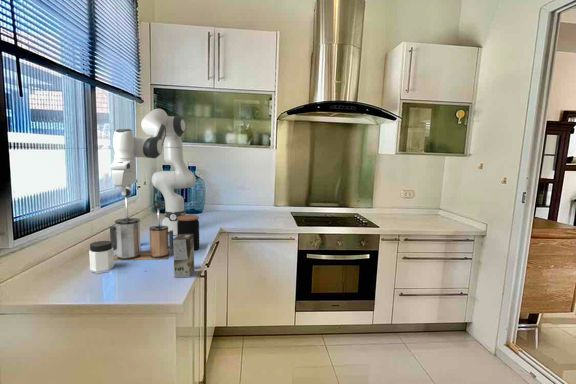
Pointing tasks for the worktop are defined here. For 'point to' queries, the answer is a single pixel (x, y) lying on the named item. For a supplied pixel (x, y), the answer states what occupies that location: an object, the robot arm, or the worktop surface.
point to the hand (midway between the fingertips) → (126, 194)
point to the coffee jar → (189, 227)
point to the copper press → (160, 241)
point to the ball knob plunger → (158, 205)
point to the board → (145, 256)
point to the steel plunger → (127, 202)
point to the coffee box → (183, 255)
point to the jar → (101, 256)
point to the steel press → (126, 238)
